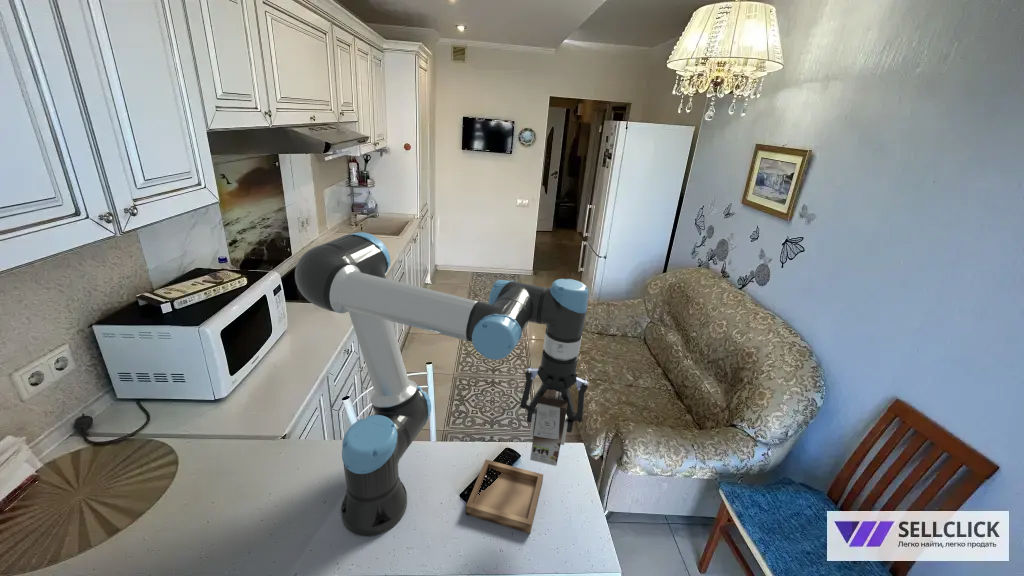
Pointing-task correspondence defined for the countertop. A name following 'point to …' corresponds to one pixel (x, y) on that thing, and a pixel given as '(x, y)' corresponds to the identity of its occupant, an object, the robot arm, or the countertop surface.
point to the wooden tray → (506, 497)
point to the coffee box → (548, 427)
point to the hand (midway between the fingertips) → (547, 436)
